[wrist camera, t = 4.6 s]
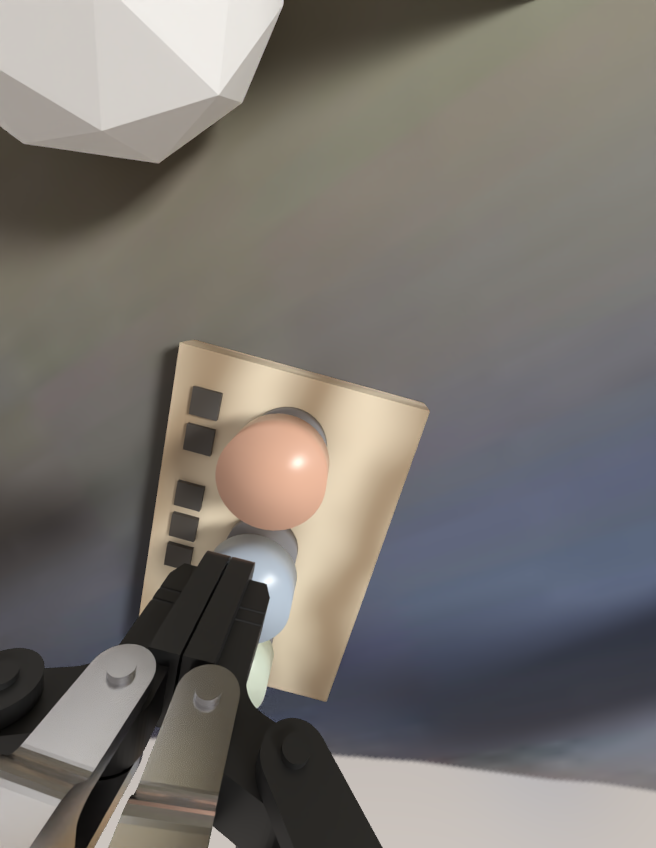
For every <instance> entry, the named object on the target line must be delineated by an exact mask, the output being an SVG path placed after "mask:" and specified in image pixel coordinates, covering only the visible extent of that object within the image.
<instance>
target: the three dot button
mask: <svg viewBox="0 0 656 848" xmlns="http://www.w3.org/2000/svg"><path fill="white" fill-rule="evenodd" d="M213 552H216V553H220V554H224V555H228V556H231V558H232V557H236V558H240V559H244V560H248V561H252V562H255V568H254V573H253V577H252V580H253V581H257V582H261V583H265V584H267V587H268V592H269V596H270V600H269V604H268V608H267V612H266V616H265V620H264V624H263V628H262V632H261V636H260V639H259V643H263V642H265V641H268V640H270V639H272V638H273V637H275V636H276V635H278V634H279V633H280V632H281V631H282V629H283V628H284V627H285V625H286V623H287V621H288V619H289V614H290V610H291V605H292V600H293V596H294V591H295V586H296V581H297V571H296V567H295V564H294V561H293V559H292V558H291V556H290V555H289V553H288V552H287V551H286V550H285V549H284V548H283V547H282V546H281V545H279V544H278V543H277V542H275V541H273V540H271V539H269V538H267V537H264V536H260V535H255V534H242V535H236V536H233V537H230V538H228V539H226V540H225V541H223V542H222V543H220V544H219V545H218V546H217V547H216V548H215V550H214V551H213ZM259 643H258V644H259Z"/></svg>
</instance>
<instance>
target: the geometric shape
mask: <svg viewBox="0 0 656 848" xmlns="http://www.w3.org/2000/svg"><path fill="white" fill-rule="evenodd" d="M283 2H284V0H0V127H2V128H3V129H4V130H6V131H7V132H8V133H10V134H11V135H12V136H14V137H15V138H16V139H18V140H19V141H20V142H22V143H23V144H28V145H35V146H42V147H49V148H56V149H63V150H70V151H77V152H83V153H90V154H97V155H104V156H111V157H118V158H125V159H131V160H138V161H145V162H152V163H160V162H161V161H163V160H164V159H165V158H167V157H168V156H170V155H171V154H172V153H174V152H175V151H177V150H178V149H179V148H181V147H182V146H183V145H185V144H186V143H188V142H189V141H190V140H192V139H193V138H195V137H196V136H197V135H199V134H200V133H201V132H203V131H204V130H206V129H207V128H208V127H210V126H211V125H212V124H214V123H215V122H217V121H218V120H219V119H221V118H222V117H224V116H225V115H226V114H228V113H229V112H230V111H232V110H233V109H235V108H236V107H237V106H239V105H240V104H242V102H243V100H244V98H245V95H246V93H247V91H248V88H249V86H250V83H251V81H252V79H253V76H254V74H255V72H256V69H257V67H258V64H259V62H260V60H261V57H262V55H263V52H264V50H265V48H266V45H267V43H268V41H269V38H270V36H271V33H272V31H273V29H274V26H275V24H276V21H277V19H278V17H279V14H280V12H281V10H282V7H283Z"/></svg>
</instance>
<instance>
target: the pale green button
mask: <svg viewBox="0 0 656 848" xmlns="http://www.w3.org/2000/svg"><path fill="white" fill-rule="evenodd" d="M273 658H274V651H273V646H272V644H271V641H270V640H268V641H265V642H263V643H259V644H258V646H257V650H256V653H255V657H254V660H253V664H252V667H251V671H250V674H249V678H248V681H247V685H246V686H247V692H248V695H249V698H250V700H251V702H252V703H253V705H254V706H255V707H256V708H258V707H259V706H260V705H261V703H262V701H263V699H264V697H265V693H266V688H267V684H268V680H269V675H270V671H271V667H272V662H273Z"/></svg>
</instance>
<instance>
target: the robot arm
mask: <svg viewBox="0 0 656 848" xmlns="http://www.w3.org/2000/svg"><path fill="white" fill-rule="evenodd" d="M254 568H255V562H252V561H248V560H244V559H240V558H236V557H232V558H231V556H228V555H224V554H220V553H216V552H212V551H207V552H206V553H205V555H204V556H203V558H202V559H201V561H200V563H199V564H198V566H194V565H190V564H186V563H184V564H182V565H181V566H179V567H178V568H176V569H175V570H173V571H172V572H170V573H169V575H168V576H167V577H166V579H165V580H164V582H163V583H162V585H161V586H160V589H158V590H157V592H156V593H155V595H154V596H153V598H152V600H150V602H149V603H148V605H147V606H146V607H145V609H144V610H143V612H142V613H141V615H140V616H139V617H138V619H137V620H136V622H135V623H134V624H133V626H132V627H131V629H130V630H129V632H128V633H127V634H126V636H125V637H124V639H123V640H122V642H121V643H120V644H119V645H118V646H115V647H112V648H110V649H108V650H106V651H104V652H102V653H101V654H100V655H98V656H97V657H96V658H95V659H94V660H93V661H92V662H91V663H90V664H86V665H82V666H75V667H60V668H44V661H43V659H42V657H41V656H40V655H39V654H38V653H37V652H35V651H33V650H30V649H24V648H14V649H7V650H3V651H0V848H94V847H95V845H96V843H97V841H98V840H99V838H100V836H101V834H102V832H103V830H104V828H105V827H106V825H107V823H108V821H109V819H110V818H111V816H112V814H113V812H114V810H115V809H116V807H117V805H118V803H119V801H120V799H121V797H122V796H123V794H124V792H125V790H126V788H127V787H128V785H129V783H130V781H131V779H132V777H133V776H134V774H135V772H136V770H137V768H138V766H139V764H140V762H141V759H142V755H143V751H144V749H145V747H146V745H147V743H148V741H149V739H150V737H151V735H152V733H153V731H154V728H155V726H156V727H160V731H159V734H158V736H157V739H156V741H155V744H154V747H153V750H152V752H151V754H150V757H149V760H148V762H147V765H146V767H145V770H144V772H143V775H142V778H141V780H140V783H139V785H138V788H137V790H136V792H135V793H134V795H131V797H130V798H129V800H128V802H127V804H126V806H125V808H124V810H123V812H122V815H121V817H120V820H119V822H118V825H117V827H116V830H115V832H114V835H113V837H112V840H111V842H110V845H109V847H108V848H208V845H209V839H210V836H211V831H212V826H213V827H215V828H216V829H217V830H218V831H219V832H221V833H222V834H223V835H224V836H225V837H227V838H228V839H229V840H230V841H231V842H233V843H234V844H235V845H236V848H382V846H381V844H380V842H379V841H378V839H377V837H376V835H375V833H374V831H373V830H372V828H371V826H370V824H369V822H368V820H367V819H366V817H365V815H364V813H363V811H362V809H361V807H360V806H359V804H358V802H357V800H356V798H355V797H354V795H353V793H352V791H351V789H350V787H349V786H348V784H347V782H346V780H345V778H344V776H343V774H342V773H341V771H340V769H339V767H338V765H337V763H336V762H335V760H334V758H333V756H332V754H331V752H330V751H329V749H328V747H327V745H326V743H325V741H324V740H323V738H322V736H321V735H320V733H319V732H318V731H317V730H316V728H314V727H313V726H312V725H311V724H309V723H308V722H306V721H304V720H301V719H296V718H287V719H283V720H280V721H278V722H277V723H275V722H274V721H272V720H271V719H269V718H268V717H266V716H265V715H264V714H262V713H261V712H260V711H258V709H257V708H256V707H255V706H254V705H253V703H252V702H251V700H250V698H249V695H248V692H247V686H246V685H247V681H248V678H249V674H250V671H251V667H252V664H253V660H254V657H255V653H256V650H257V646H258V643H259V639H260V636H261V632H262V628H263V624H264V620H265V616H266V612H267V608H268V604H269V600H270V596H269V592H268V587H267V584H265V583H261V582H257V581H253V580H252V577H253V573H254Z"/></svg>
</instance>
